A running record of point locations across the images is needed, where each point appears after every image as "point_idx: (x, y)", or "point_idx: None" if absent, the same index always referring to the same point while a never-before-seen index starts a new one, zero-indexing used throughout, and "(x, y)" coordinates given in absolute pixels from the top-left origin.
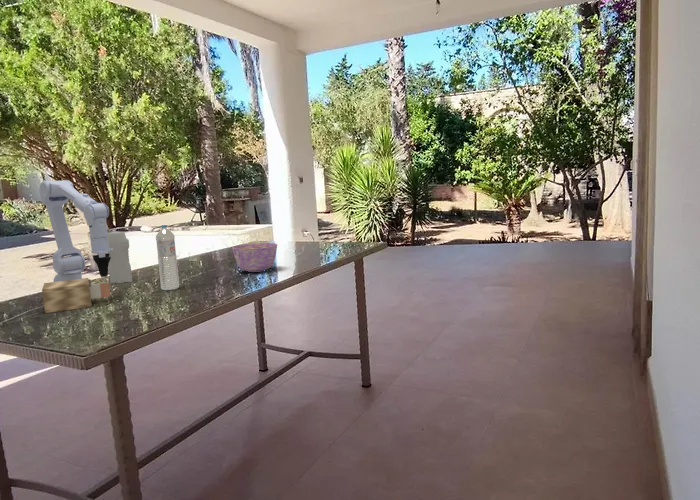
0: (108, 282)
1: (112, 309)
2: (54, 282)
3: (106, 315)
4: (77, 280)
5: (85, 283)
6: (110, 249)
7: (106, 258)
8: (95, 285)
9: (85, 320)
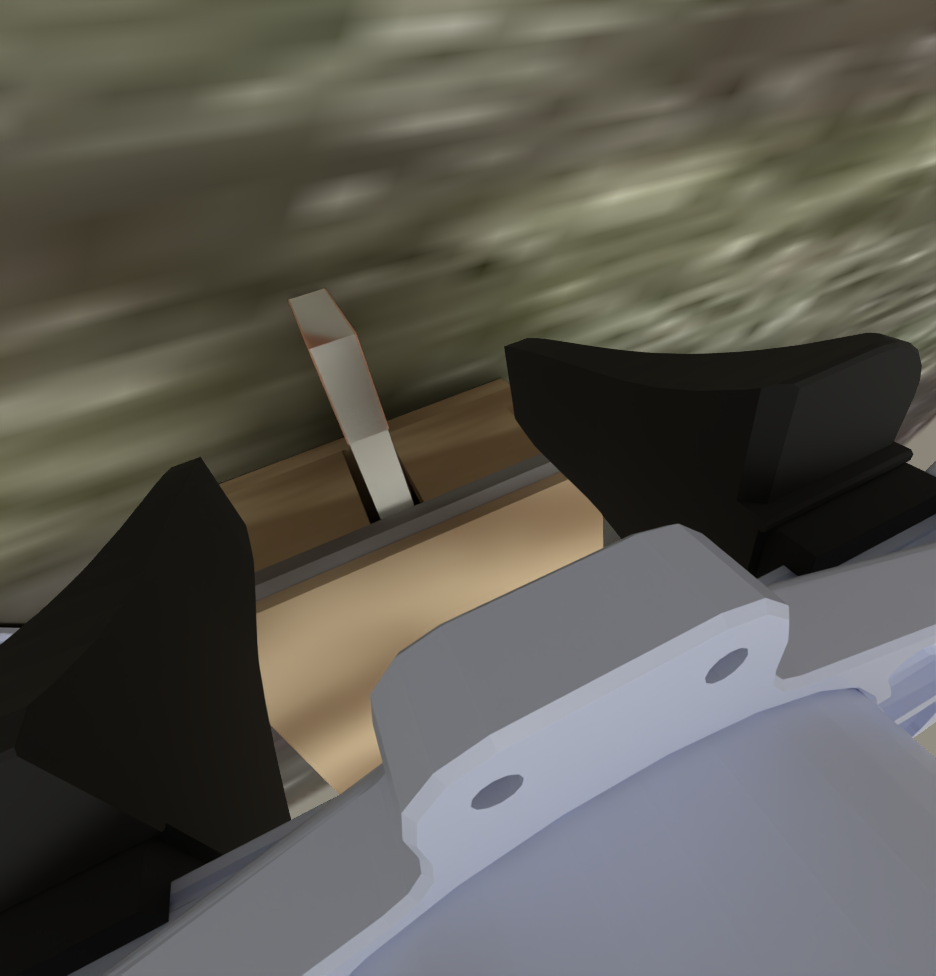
0: (337, 345)
1: (689, 174)
2: (355, 765)
3: (819, 183)
4: (338, 657)
5: (566, 503)
6: (759, 661)
7: (883, 418)
8: (396, 460)
9: (826, 291)
